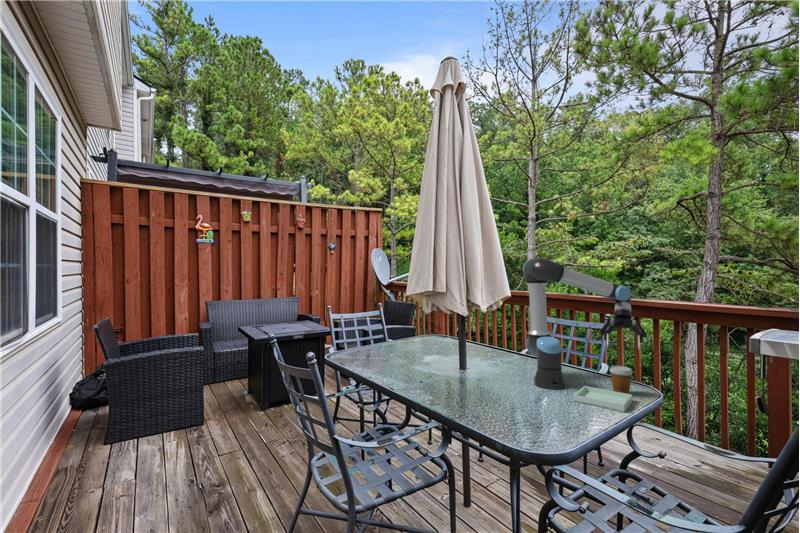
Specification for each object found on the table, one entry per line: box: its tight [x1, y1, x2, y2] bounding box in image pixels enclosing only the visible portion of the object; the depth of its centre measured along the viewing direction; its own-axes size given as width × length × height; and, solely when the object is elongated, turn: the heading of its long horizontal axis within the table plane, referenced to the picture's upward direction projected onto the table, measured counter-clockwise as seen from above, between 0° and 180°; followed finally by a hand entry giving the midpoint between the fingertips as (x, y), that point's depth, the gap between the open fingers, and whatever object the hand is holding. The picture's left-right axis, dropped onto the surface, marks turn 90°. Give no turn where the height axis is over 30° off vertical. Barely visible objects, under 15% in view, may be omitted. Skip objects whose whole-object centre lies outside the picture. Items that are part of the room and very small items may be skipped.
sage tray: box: [573, 385, 633, 413], centre depth 174 cm, size 20×16×3 cm
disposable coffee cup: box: [609, 365, 633, 394], centre depth 183 cm, size 10×10×12 cm
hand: (622, 347), depth 192 cm, fingers open, 13 cm apart
